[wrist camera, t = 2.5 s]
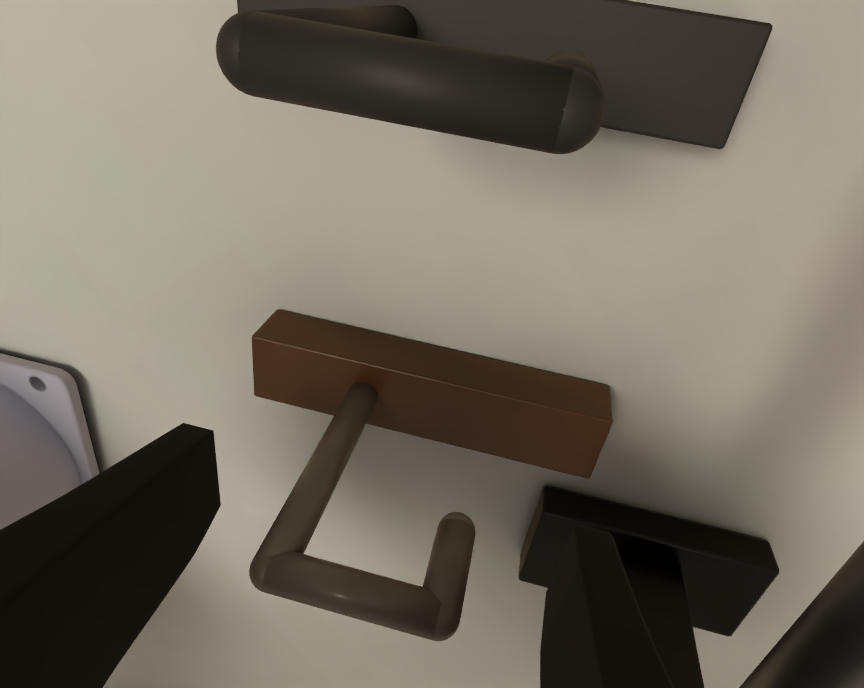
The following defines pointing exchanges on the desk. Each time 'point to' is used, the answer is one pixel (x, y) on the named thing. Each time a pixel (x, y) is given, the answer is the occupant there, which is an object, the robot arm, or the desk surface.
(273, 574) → the walnut hanger
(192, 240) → the desk surface
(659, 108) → the black hanger
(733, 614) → the rail stand
